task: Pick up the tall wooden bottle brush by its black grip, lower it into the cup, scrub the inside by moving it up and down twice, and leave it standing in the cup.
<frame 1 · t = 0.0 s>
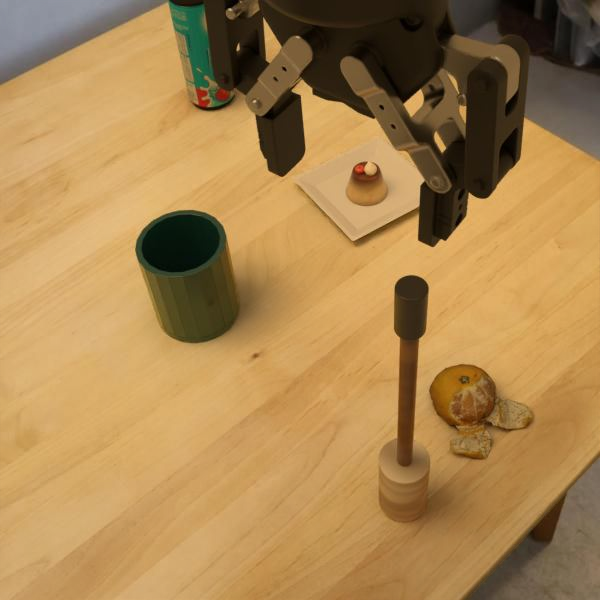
hand: (359, 198, 41), 38 cm above the table, tool pointing down, fingers open, 8 cm apart
dessert: (366, 193, 95), on the table
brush: (402, 499, 72), on the table
beverage can: (212, 98, 108), on the table
cup: (198, 309, 86), on the table
fruit: (472, 421, 76), on the table
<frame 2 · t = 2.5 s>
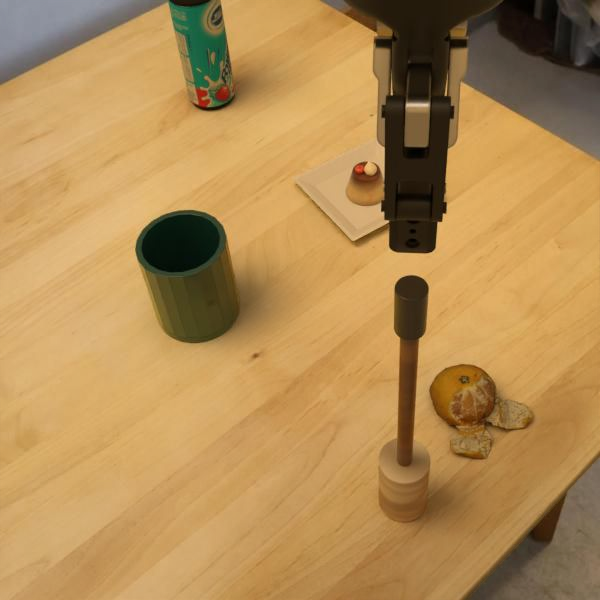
hand: (414, 186, 44), 36 cm above the table, tool pointing down, fingers open, 8 cm apart
nothing on the table moved.
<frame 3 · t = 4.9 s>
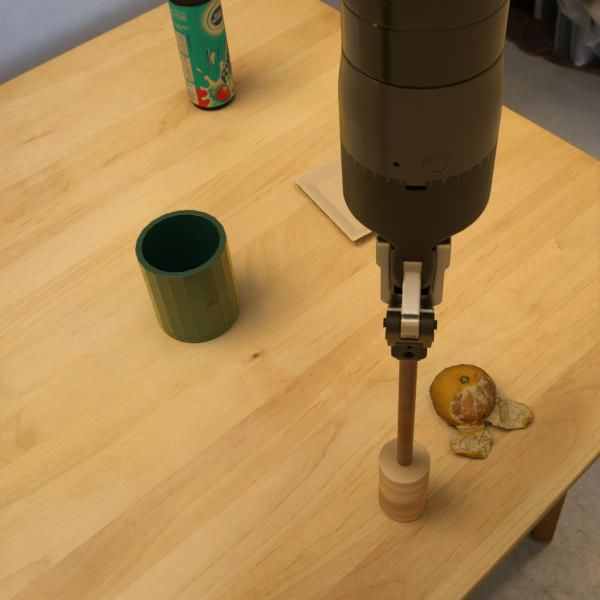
hand: (409, 337, 54), 23 cm above the table, tool pointing down, fingers closed on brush, 2 cm apart
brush: (402, 499, 72), on the table, touching gripper
everything else where it was.
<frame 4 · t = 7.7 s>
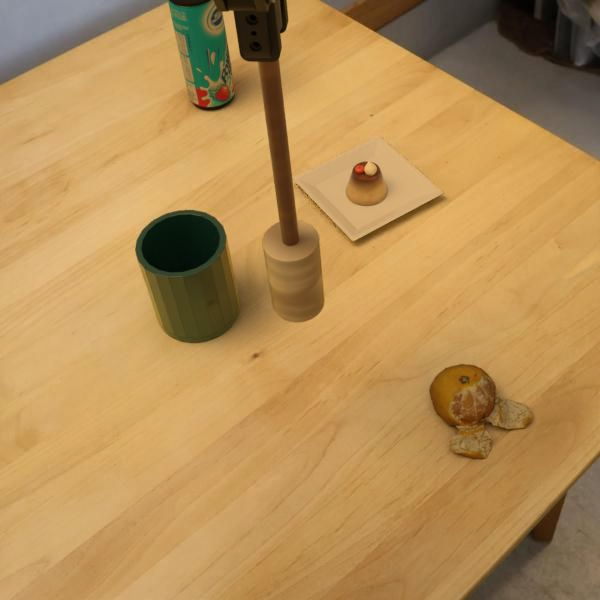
hand: (265, 42, 47), 39 cm above the table, tool pointing down, fingers closed on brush
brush: (298, 301, 65), point 16 cm above the table, touching gripper
everything else where it was.
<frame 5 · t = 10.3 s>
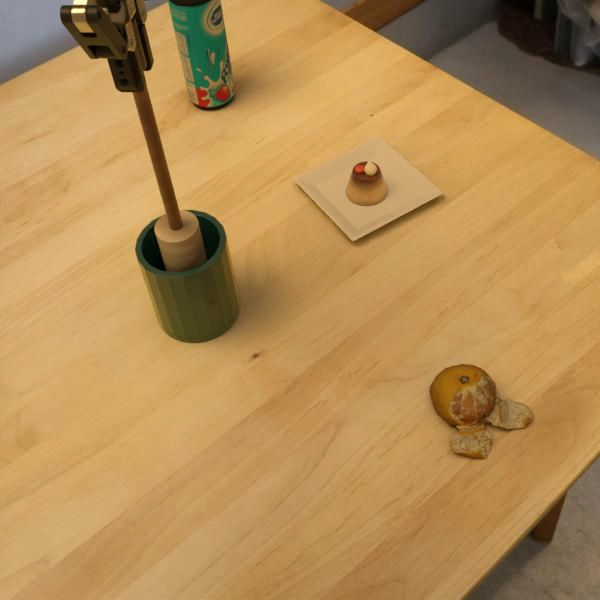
hand: (135, 78, 64), 28 cm above the table, tool pointing down, fingers closed on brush
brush: (189, 276, 82), point 5 cm above the table, touching gripper
everything else where it was.
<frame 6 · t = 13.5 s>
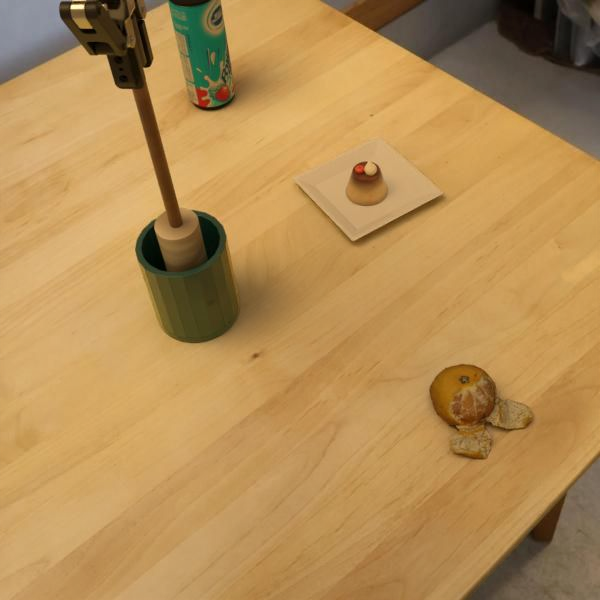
hand: (135, 74, 64), 29 cm above the table, tool pointing down, fingers closed on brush
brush: (189, 273, 82), point 5 cm above the table, touching gripper
everything else where it was.
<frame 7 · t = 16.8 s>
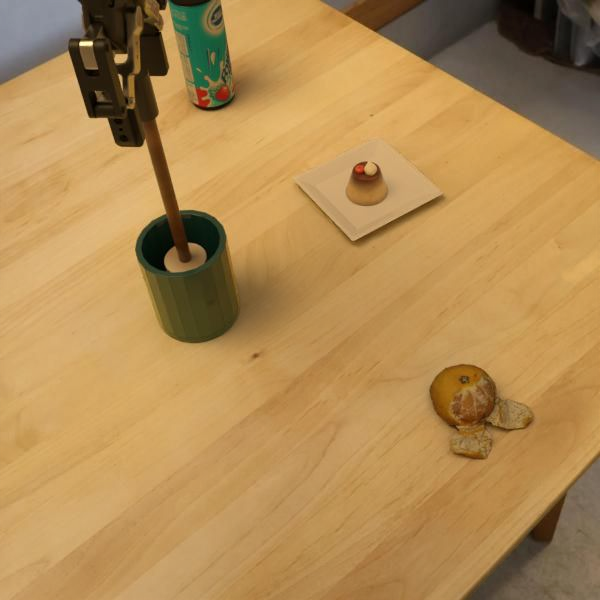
hand: (144, 107, 67), 25 cm above the table, tool pointing down, fingers open, 8 cm apart
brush: (197, 304, 86), point 1 cm above the table, touching cup
everything else where it was.
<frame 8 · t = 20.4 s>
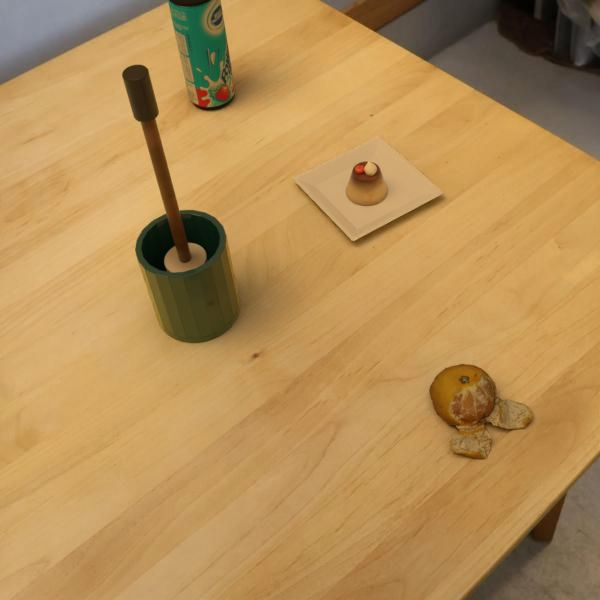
nothing on the table moved.
at the end: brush 0.0 cm off-centre in the cup, point 0.8 cm above the cup's base; the gripper is holding nothing; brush tilted 0° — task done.
